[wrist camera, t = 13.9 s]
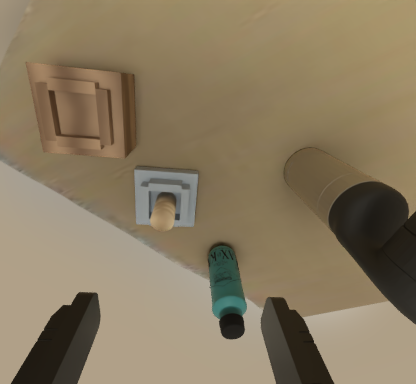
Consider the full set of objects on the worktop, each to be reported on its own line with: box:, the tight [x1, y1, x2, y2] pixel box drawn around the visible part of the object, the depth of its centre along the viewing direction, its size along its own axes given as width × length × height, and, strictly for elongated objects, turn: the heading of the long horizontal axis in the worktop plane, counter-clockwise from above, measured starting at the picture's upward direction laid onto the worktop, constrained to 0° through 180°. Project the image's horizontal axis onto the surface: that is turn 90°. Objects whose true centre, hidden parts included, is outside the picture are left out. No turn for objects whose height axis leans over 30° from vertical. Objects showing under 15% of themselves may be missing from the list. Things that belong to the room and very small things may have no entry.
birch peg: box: [150, 192, 177, 231], centre depth 43 cm, size 4×4×8 cm
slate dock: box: [134, 166, 198, 227], centre depth 46 cm, size 12×12×4 cm
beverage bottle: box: [208, 246, 247, 339], centre depth 46 cm, size 6×7×20 cm
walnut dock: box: [26, 62, 136, 158], centre depth 36 cm, size 12×12×10 cm
